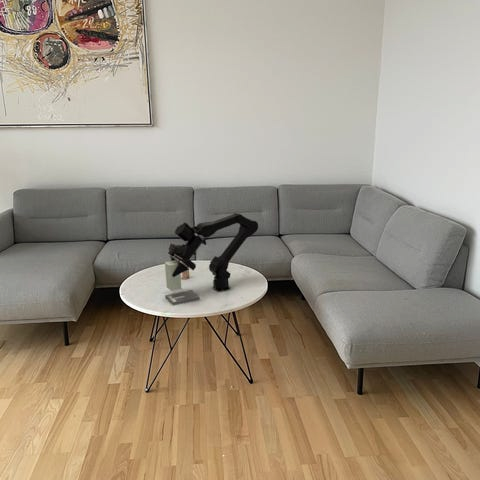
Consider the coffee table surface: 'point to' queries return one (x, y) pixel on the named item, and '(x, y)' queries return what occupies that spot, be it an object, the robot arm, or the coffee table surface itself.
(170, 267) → the sage block
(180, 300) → the board
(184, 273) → the grandmother figurine
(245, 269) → the coffee table surface
